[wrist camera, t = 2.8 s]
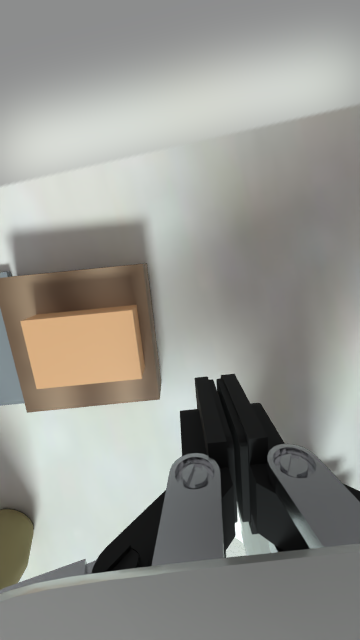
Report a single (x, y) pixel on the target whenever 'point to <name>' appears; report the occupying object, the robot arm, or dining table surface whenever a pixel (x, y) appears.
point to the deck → (73, 295)
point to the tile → (84, 346)
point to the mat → (8, 367)
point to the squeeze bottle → (14, 546)
